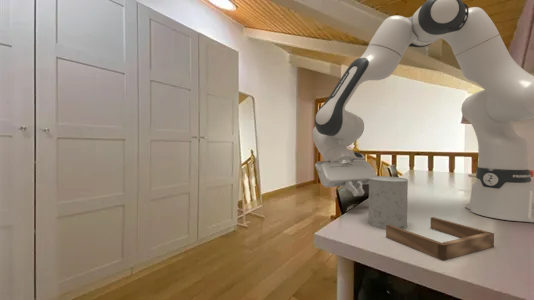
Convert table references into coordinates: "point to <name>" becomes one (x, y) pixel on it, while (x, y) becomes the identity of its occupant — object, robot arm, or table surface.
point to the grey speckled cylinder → (388, 201)
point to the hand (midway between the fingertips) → (359, 195)
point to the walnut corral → (466, 244)
